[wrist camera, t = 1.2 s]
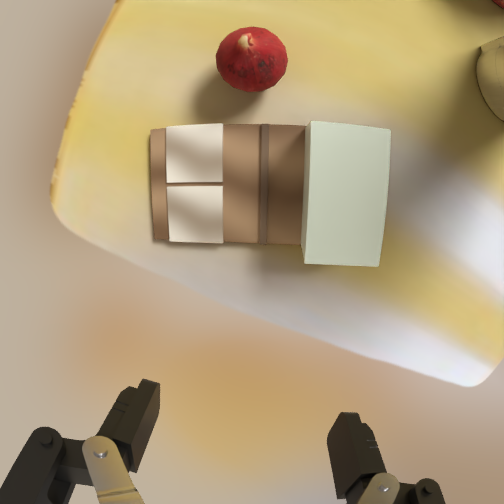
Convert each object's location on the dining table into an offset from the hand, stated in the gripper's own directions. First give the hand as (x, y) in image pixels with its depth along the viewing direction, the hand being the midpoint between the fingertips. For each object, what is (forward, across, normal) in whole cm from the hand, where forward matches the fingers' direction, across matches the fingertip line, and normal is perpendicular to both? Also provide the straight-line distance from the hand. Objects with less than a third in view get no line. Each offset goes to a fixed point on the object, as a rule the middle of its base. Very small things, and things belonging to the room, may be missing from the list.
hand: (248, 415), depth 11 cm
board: (+19, +1, -9) cm, 21 cm away
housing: (+17, -5, -10) cm, 21 cm away
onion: (+18, +4, -19) cm, 27 cm away
